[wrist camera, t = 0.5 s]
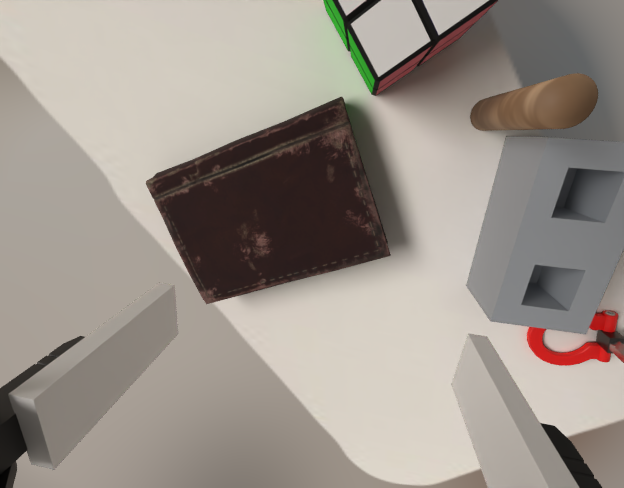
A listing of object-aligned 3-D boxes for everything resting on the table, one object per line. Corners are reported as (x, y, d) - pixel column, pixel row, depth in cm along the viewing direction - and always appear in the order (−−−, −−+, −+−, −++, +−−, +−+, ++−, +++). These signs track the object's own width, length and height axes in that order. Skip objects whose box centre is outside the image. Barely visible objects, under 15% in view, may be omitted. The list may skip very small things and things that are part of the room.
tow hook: (523, 359, 42) (604, 360, 40) (580, 448, 30) (700, 457, 28) (527, 304, 40) (614, 303, 37) (592, 378, 28) (725, 382, 25)
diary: (165, 173, 41) (140, 177, 37) (343, 99, 35) (340, 93, 30) (223, 294, 46) (207, 311, 41) (389, 247, 40) (392, 262, 35)
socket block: (506, 136, 33) (548, 136, 26) (598, 142, 32) (670, 145, 25) (466, 285, 39) (490, 321, 32) (542, 295, 38) (585, 334, 31)
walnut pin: (474, 97, 32) (550, 72, 19) (506, 98, 32) (606, 74, 19) (467, 129, 33) (533, 126, 20) (498, 131, 33) (586, 130, 20)
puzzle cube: (462, 36, 31) (505, -5, 22) (372, 97, 34) (376, 84, 25) (415, -67, 29) (440, -162, 20) (325, 8, 32) (309, -43, 23)
